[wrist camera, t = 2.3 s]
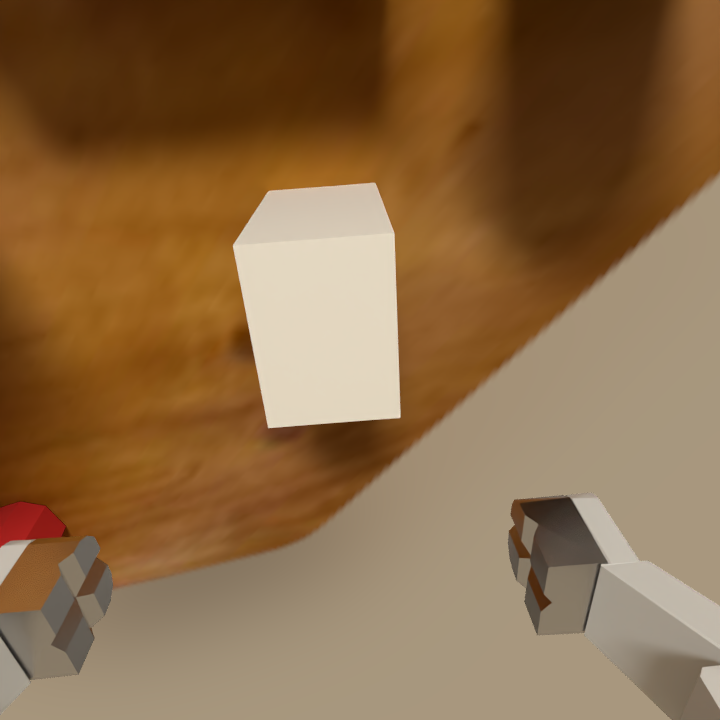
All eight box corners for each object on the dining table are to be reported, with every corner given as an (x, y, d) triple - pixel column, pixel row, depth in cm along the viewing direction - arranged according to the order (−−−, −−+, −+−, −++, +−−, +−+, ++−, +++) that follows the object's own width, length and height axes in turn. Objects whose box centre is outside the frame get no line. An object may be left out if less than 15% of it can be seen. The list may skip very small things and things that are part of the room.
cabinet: (375, 182, 23) (394, 233, 15) (382, 319, 27) (400, 418, 19) (268, 191, 23) (232, 245, 15) (289, 326, 27) (268, 428, 19)
